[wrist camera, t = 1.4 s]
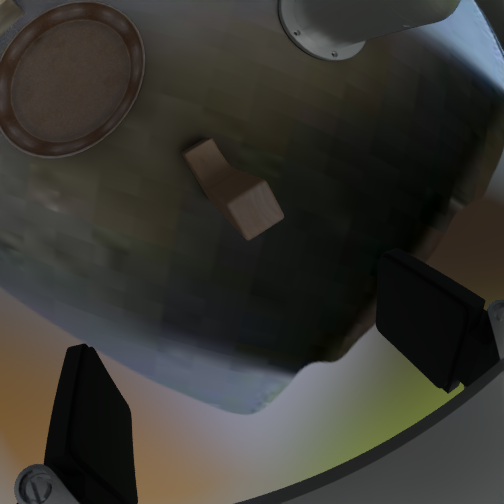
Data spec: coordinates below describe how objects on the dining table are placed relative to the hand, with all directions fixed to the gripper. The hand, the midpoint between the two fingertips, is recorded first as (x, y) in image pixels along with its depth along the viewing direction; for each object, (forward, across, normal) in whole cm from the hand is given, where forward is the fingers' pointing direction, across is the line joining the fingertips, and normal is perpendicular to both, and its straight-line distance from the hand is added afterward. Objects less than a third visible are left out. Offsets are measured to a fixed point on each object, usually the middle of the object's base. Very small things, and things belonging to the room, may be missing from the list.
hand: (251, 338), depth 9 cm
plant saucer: (+29, +10, -15) cm, 34 cm away
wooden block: (+28, -4, -1) cm, 29 cm away
